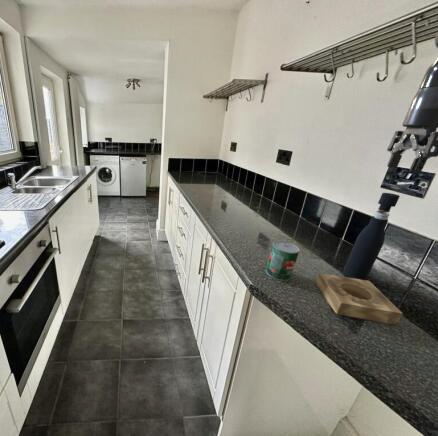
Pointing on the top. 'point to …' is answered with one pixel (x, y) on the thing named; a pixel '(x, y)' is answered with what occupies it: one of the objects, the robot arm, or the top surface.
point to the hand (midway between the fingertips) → (402, 169)
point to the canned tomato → (282, 260)
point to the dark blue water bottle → (370, 241)
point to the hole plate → (357, 299)
